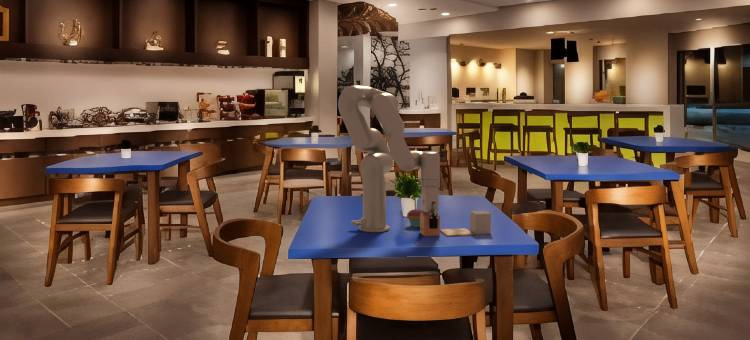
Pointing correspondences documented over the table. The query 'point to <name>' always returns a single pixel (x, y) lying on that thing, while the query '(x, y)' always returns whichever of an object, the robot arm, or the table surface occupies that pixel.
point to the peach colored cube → (425, 225)
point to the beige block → (480, 222)
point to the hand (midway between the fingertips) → (430, 226)
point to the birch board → (456, 232)
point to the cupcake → (414, 216)
